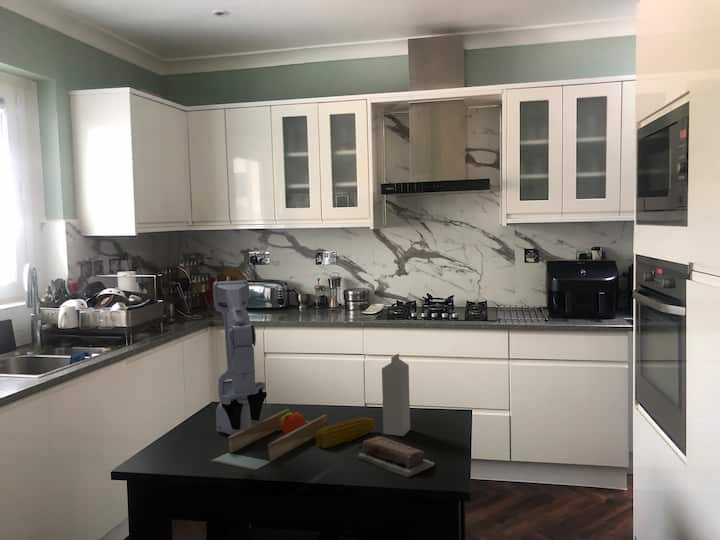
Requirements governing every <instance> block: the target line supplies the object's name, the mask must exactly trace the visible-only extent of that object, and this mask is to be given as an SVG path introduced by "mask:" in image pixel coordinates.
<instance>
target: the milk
mask: <svg viewBox="0 0 720 540" xmlns="http://www.w3.org/2000/svg"><path fill="white" fill-rule="evenodd" d="M390 361H391V362H390V363H388V364H387V365H385V366H383V367H382V368H381V383H382V384H381V389H382V391H381V392H382V419H383V421H382V424H383V427H382V429H383V434H384V435H388V436H389V435H390V436H399V437H404V436H405V435H406V434H407V433H408V432H409V431H410V430H411V411H410V410H411V409H410V408H411V406H410V370H409V369H410V368H409V364H408V363H407V362H405V361H403V360H402V359H400V353H396V354H395V355H393V356H392V357H391V360H390Z"/></svg>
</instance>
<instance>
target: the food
mask: <svg viewBox="0 0 720 540" xmlns="http://www.w3.org/2000/svg"><path fill="white" fill-rule="evenodd" d="M375 427H376V421H375V420H374V419H373V418H371V417H368V416H366V417H365V416H364V417H357V418H353V419H349V420H344V421H341V422H338V423H334V424H332V425H328V426H327V427H325V428H322V429H320V430H319V431H318V432H317V434H316V437H315V440H316V441H315V443H316V446H317V447H320V448H322V449H329V448H333V447H336V446H337V445H340V444H342V443H345V442H346V443H349V442H352V441H354V440H356V439H358V438H361V437H363V436H364V437H365V435H368V434H369V433H371V432H372V431H373V430H374V429H375Z"/></svg>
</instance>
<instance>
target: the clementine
mask: <svg viewBox="0 0 720 540" xmlns="http://www.w3.org/2000/svg"><path fill="white" fill-rule="evenodd" d="M282 418H283V419H282ZM282 418H281V419H282V421H281V419H280V421H281V429H282V433H283V434H284V436H285V435H286V434H288V433H290V432H292V431H294V430H296V429H298V428H300V427H302V426H303V425H305V424H306V423H305V421H306V420H305V418H304V416H303V415H302V414H301V413H299V412H296V411H290V413H287V414H285V415H284V416H283V417H282ZM280 421H279V422H280ZM278 425H279V424H278Z"/></svg>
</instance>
